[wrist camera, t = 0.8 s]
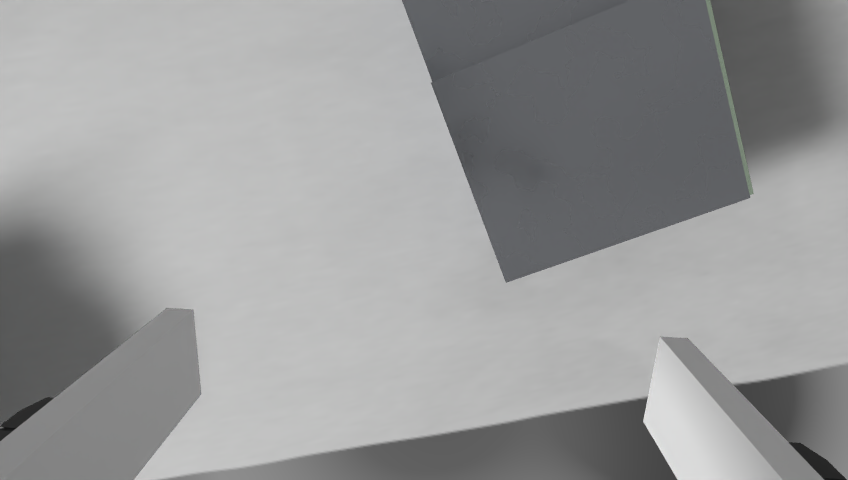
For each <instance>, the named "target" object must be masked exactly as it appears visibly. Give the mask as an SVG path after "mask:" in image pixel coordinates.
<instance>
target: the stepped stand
mask: <svg viewBox="0 0 848 480" xmlns="http://www.w3.org/2000/svg"><path fill="white" fill-rule="evenodd" d="M402 1H403V4H404V7H405V9H406V12H407V15H408V17H409V20H410V23H411V25H412V28H413V31H414V33H415V36H416V39H417V41H418V44H419V47H420V49H421V52H422V55H423V57H424V60H425V63H426V65H427V68H428V71H429V74H430V76H431V79H432V83H431V84H432V87H433V89H434V92H435V95H436V97H437V100H438V103H439V105H440V108H441V111H442V113H443V116H444V119H445V121H446V124H447V127H448V129H449V132H450V135H451V137H452V140H453V143H454V145H455V148H456V151H457V153H458V156H459V159H460V161H461V164H462V167H463V169H464V172H465V175H466V177H467V180H468V183H469V185H470V188H471V191H472V193H473V196H474V199H475V201H476V204H477V207H478V209H479V212H480V215H481V217H482V220H483V223H484V225H485V228H486V231H487V233H488V236H489V239H490V241H491V244H492V247H493V249H494V252H495V255H496V257H497V260H498V263H499V265H500V268H501V271H502V273H503V276H504V279H505V281H506V282H509V281H512V280H515V279H518V278H521V277H524V276H527V275H529V274H532V273H535V272H538V271H541V270H544V269H547V268H550V267H552V266H555V265H558V264H561V263H564V262H567V261H570V260H573V259H575V258H578V257H581V256H584V255H587V254H590V253H593V252H596V251H599V250H601V249H604V248H607V247H610V246H613V245H616V244H619V243H622V242H624V241H627V240H630V239H633V238H636V237H639V236H642V235H645V234H647V233H650V232H653V231H656V230H659V229H662V228H665V227H668V226H670V225H673V224H676V223H679V222H682V221H685V220H688V219H691V218H693V217H696V216H699V215H702V214H705V213H708V212H711V211H714V210H716V209H719V208H722V207H725V206H728V205H731V204H734V203H737V202H739V201H742V200H745V199H748V198H750V195H751V194H754V193H753V189H752V184H751V180H750V175H749V171H748V166H747V162H746V158H745V153H744V149H743V144H742V140H741V135H740V131H739V126H738V122H737V117H736V113H735V109H734V104H733V100H732V95H731V91H730V86H729V82H728V77H727V73H726V68H725V64H724V60H723V55H722V51H721V46H720V42H719V37H718V33H717V28H716V24H715V19H714V15H713V11H712V6H711V2H710V0H402Z"/></svg>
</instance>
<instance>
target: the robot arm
mask: <svg viewBox="0 0 848 480" xmlns="http://www.w3.org/2000/svg"><path fill="white" fill-rule="evenodd" d="M200 395H201V386H200V375H199V365H198V354H197V343H196V333H195V322H194V311H193V310H191V309H173V308H166V309H165V310H164V311H163V312H161V313H160V314H159V315H158V316H156V317H155V318H154V319H153V320H151V321H150V322H149V323H148V324H146V325H145V326H144V327H143V328H141V329H140V330H139V331H137V332H136V333H135V334H134V335H132V336H131V337H130V338H129V339H127V340H126V341H125V342H124V343H122V344H121V345H120V346H119V347H117V348H116V349H115V350H114V351H112V352H111V353H110V354H109V355H107V356H106V357H105V358H104V359H102V360H101V361H100V362H99V363H97V364H96V365H95V366H94V367H92V368H91V369H90V370H89V371H87V372H86V373H85V374H84V375H82V376H81V377H80V378H79V379H77V380H76V381H75V382H74V383H72V384H71V385H70V386H69V387H67V388H66V389H65V390H64V391H62V392H61V393H60V394H59V395H57V396H56V397H55V398H45V399H43V400H41V401H39V402H37V403H35V404H33V405H31V406H29V407H27V408H25V409H23V410H21V411H19V412H18V413H16V414H15V415H14V416H12V417H11V418H10V419H9V420H7V421H6V422H5V423H3V424H2V425H1V426H0V480H134V479H135V477H136V476H137V475H138V474H139V472H140V471H141V470H142V468H143V467H144V466H145V465H146V463H147V462H148V461H149V460H150V458H151V457H152V456H153V455H154V453H155V452H156V451H157V449H158V448H159V447H160V446H161V444H162V443H163V442H164V441H165V439H166V438H167V437H168V436H169V434H170V433H171V432H172V430H173V429H174V428H175V427H176V425H177V424H178V423H179V422H180V420H181V419H182V418H183V417H184V415H185V414H186V413H187V411H188V410H189V409H190V408H191V406H192V405H193V404H194V403H195V401H196V400H197V399H198V398H199V396H200ZM643 422H644V423H645V425H646V427H647V428H648V430H649V432H650V433H651V435H652V437H653V438H654V440H655V442H656V444H657V445H658V447H659V449H660V450H661V452H662V454H663V455H664V457H665V459H666V461H667V462H668V464H669V466H670V467H671V469H672V471H673V472H674V474H675V476H676V478H677V479H678V480H846V479H845V477H844V476H842V475H841V474H840V473H839V472H838V471H837V470H836V469H835V468H834V467H833V466H832V465H831V464H830V463H829V462H828V461H827V460H826V459H824V458H823V457H821V456H819V455H818V454H817V453H815V452H813V451H812V450H810V449H809V448H807V447H806V446H804V445H803V444H801V443H792V442H791V443H790V442H787V441H786V440H785V439H784V438H783V436H782V435H781V434H780V433H779V432H778V431H776V429H775V428H774V427H773V426H772V425H771V424H770V423H769V422H768V421H767V420H766V419H765V418H764V417H763V416H762V415H761V414H760V413H759V412H758V411H757V409H756V408H755V407H754V406H753V405H752V404H751V403H750V402H749V401H748V400H747V399H746V398H745V397H744V396H743V395H742V394H741V393H740V392H739V391H738V390H737V389H736V388H735V387H734V386H733V385H732V384H731V382H730V381H729V380H728V379H727V378H726V377H725V376H724V375H723V374H722V373H721V372H720V371H719V370H718V369H717V368H716V367H715V366H714V365H713V364H712V363H711V362H710V361H709V360H708V359H707V358H706V357H705V356H704V354H703V353H702V352H701V351H700V350H699V349H698V348H697V347H696V346H695V345H694V344H693V343H692V342H691V341H690V340H689V339H688V338H673V337H660V340H659V345H658V350H657V355H656V360H655V365H654V370H653V375H652V380H651V385H650V390H649V395H648V400H647V405H646V411H645V416H644V420H643Z"/></svg>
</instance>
